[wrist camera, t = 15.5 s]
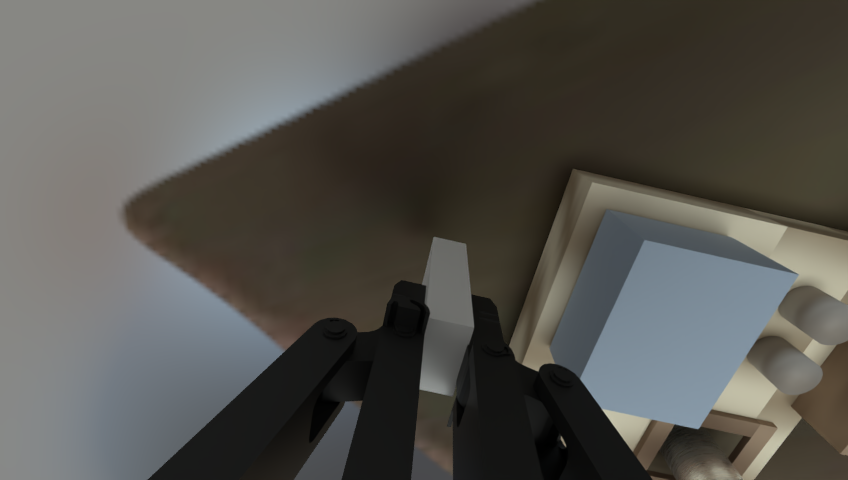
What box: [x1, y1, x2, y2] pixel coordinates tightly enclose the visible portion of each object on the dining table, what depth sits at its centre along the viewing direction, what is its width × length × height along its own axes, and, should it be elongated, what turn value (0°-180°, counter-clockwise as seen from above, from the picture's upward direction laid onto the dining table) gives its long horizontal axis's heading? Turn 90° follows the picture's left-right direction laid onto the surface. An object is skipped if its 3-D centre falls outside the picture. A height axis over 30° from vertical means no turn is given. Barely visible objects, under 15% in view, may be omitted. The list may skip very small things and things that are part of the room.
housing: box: [549, 209, 799, 429], centre depth 18 cm, size 8×6×4 cm
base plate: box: [509, 169, 848, 480], centre depth 22 cm, size 18×16×6 cm
